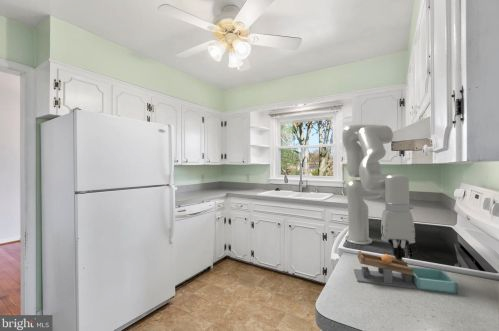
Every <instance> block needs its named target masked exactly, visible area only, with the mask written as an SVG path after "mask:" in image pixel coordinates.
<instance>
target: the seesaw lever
mask: <svg viewBox="0 0 499 331" xmlns="http://www.w3.org/2000/svg"><path fill="white" fill-rule="evenodd" d="M390 256H391V258H392V263H391V264H387V263H383V262H382V259H381V257H382V256H378V255H373V254H369V253H365V252H362V251H361V250H358V252H357V258H358V261H359V263H360V265H365V266H368V267H369V266H370V267H374V268H377V269H378V268H382V269H392V272H394V273H399V274H401V273H404V274H409V275H413V276H414V273H413V269H410V268H409V267H410V266H409V265H408V262H406V261H404V259H403V258H402V259H397V258H396V257H395V256H394V255H390Z"/></svg>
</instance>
